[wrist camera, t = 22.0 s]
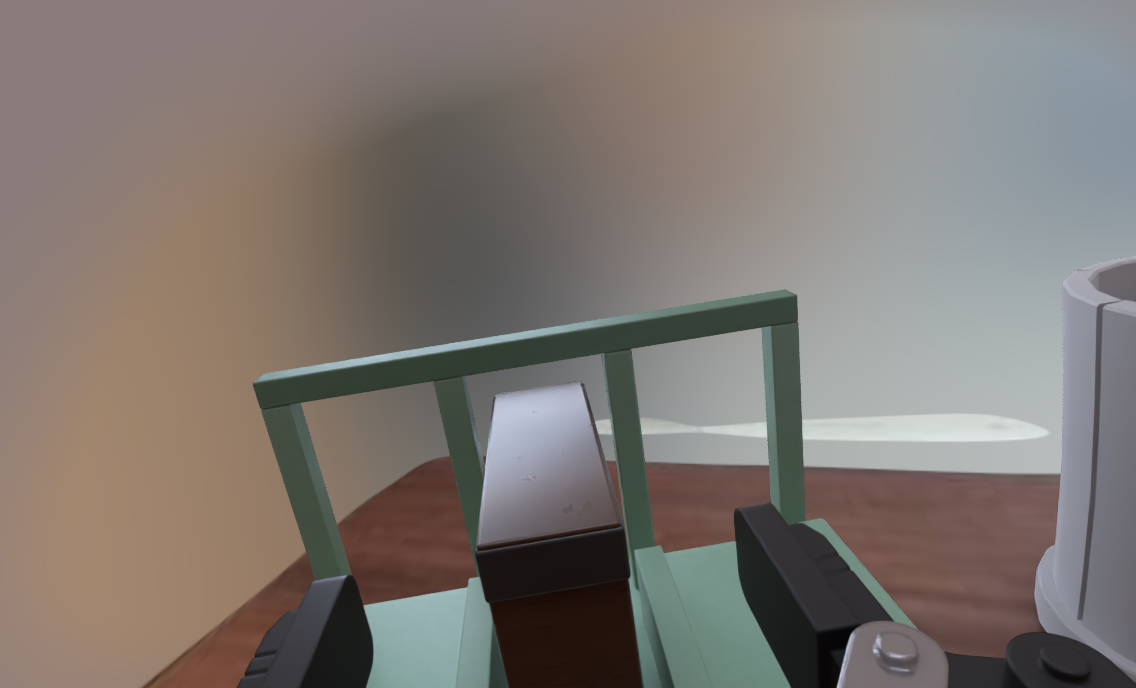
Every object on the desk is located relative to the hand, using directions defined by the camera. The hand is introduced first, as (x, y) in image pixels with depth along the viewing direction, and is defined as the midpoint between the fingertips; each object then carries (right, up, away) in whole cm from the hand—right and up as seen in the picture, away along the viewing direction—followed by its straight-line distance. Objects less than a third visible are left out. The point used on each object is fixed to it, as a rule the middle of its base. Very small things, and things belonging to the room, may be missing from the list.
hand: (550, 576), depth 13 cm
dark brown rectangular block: (+1, -7, +6) cm, 9 cm away
